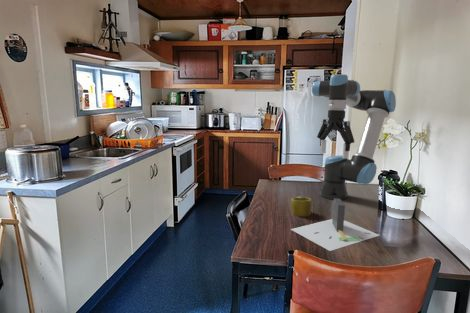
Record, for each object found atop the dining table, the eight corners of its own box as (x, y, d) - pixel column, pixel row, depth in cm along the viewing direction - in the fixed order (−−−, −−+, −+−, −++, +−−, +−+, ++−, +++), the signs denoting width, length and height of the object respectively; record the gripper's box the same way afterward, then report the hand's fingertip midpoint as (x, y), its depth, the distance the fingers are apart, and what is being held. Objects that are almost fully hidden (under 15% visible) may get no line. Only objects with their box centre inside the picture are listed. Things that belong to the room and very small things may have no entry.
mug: (315, 216, 148) (309, 195, 148) (293, 221, 150) (287, 200, 151) (315, 212, 159) (310, 192, 160) (295, 217, 162) (290, 197, 163)
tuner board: (337, 219, 150) (337, 217, 149) (379, 237, 131) (380, 234, 131) (290, 231, 136) (290, 228, 135) (329, 253, 117) (329, 250, 117)
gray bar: (332, 222, 143) (333, 198, 141) (338, 222, 142) (340, 198, 140) (341, 240, 125) (343, 213, 123) (348, 240, 125) (350, 213, 123)
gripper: (311, 108, 156) (308, 152, 160) (353, 111, 135) (349, 161, 139) (322, 108, 160) (320, 150, 164) (365, 110, 138) (361, 159, 142)
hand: (333, 155), depth 151 cm, fingers open, 13 cm apart
